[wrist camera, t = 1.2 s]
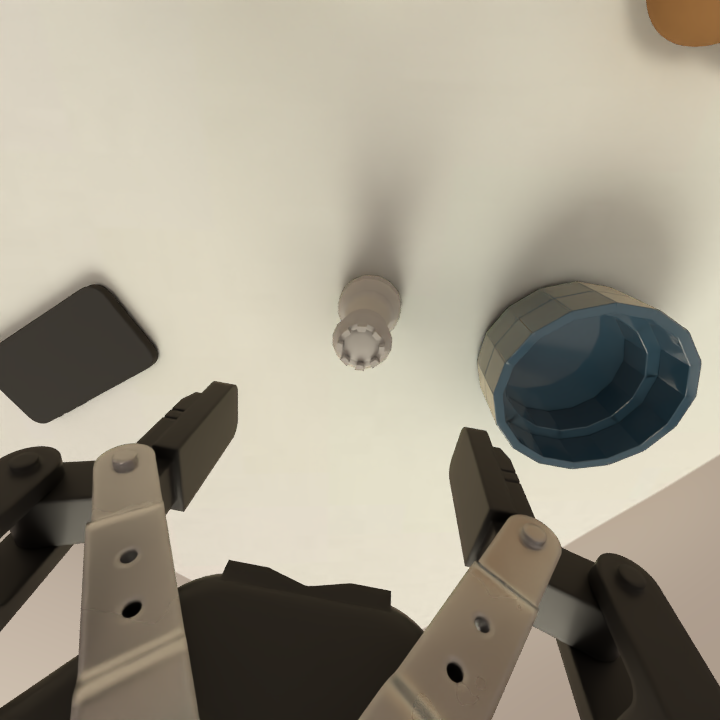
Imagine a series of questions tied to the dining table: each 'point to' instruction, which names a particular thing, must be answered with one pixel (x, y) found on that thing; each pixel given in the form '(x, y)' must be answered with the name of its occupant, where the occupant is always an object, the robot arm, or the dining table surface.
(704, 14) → the potato
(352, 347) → the rook chess piece
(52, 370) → the phone
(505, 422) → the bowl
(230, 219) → the dining table surface
